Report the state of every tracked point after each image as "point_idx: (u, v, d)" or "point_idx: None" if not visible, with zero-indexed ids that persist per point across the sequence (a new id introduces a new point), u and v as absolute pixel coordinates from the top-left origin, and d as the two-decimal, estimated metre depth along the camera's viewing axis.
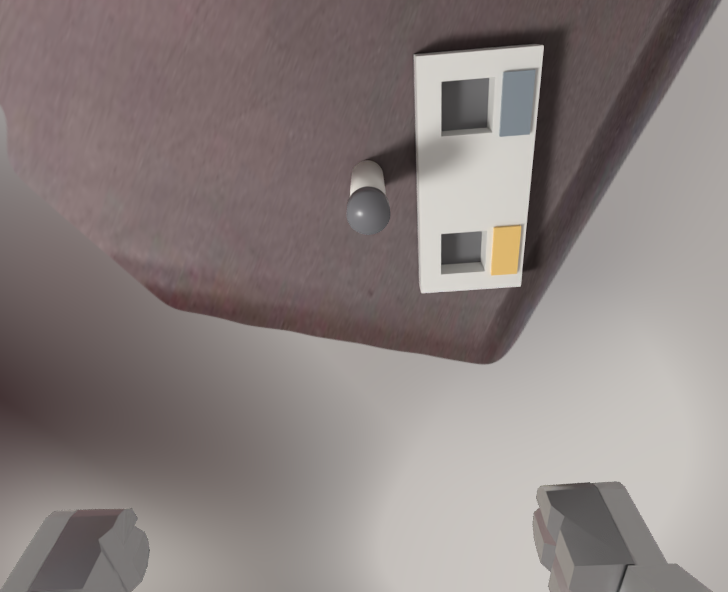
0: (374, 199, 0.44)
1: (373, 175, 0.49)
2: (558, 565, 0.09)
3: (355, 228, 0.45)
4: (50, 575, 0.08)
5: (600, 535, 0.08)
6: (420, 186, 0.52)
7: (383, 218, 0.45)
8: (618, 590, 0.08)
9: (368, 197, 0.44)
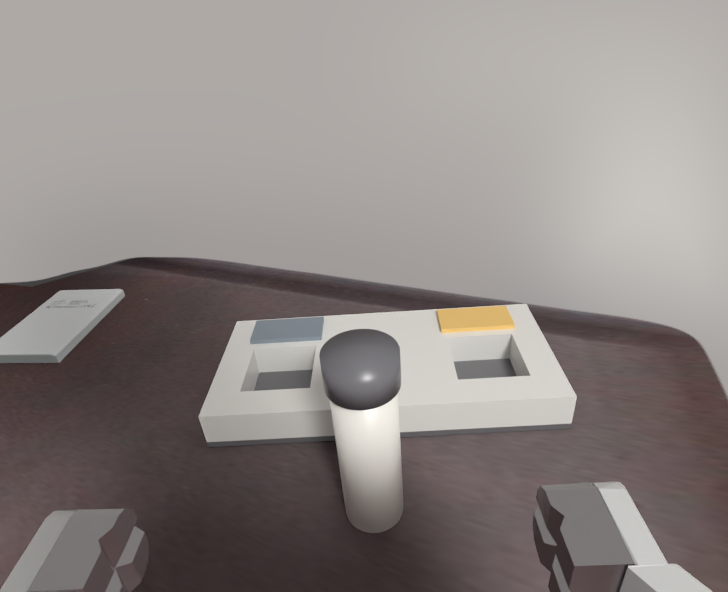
0: (332, 345, 0.25)
1: None
2: (558, 565, 0.09)
3: (386, 367, 0.23)
4: (51, 576, 0.08)
5: (600, 535, 0.08)
6: None
7: (368, 335, 0.25)
8: (618, 590, 0.08)
9: (327, 352, 0.24)
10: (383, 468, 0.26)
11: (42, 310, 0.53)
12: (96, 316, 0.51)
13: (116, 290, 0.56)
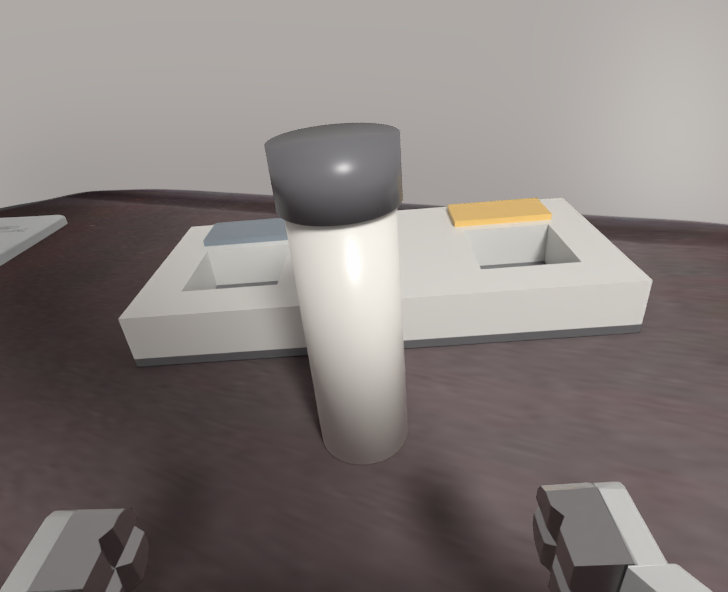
0: (289, 136, 0.15)
1: None
2: (558, 565, 0.09)
3: (376, 143, 0.13)
4: (51, 576, 0.08)
5: (600, 535, 0.08)
6: None
7: (348, 126, 0.16)
8: (618, 590, 0.08)
9: (279, 141, 0.15)
10: (375, 348, 0.16)
11: None
12: (24, 240, 0.42)
13: (56, 216, 0.46)
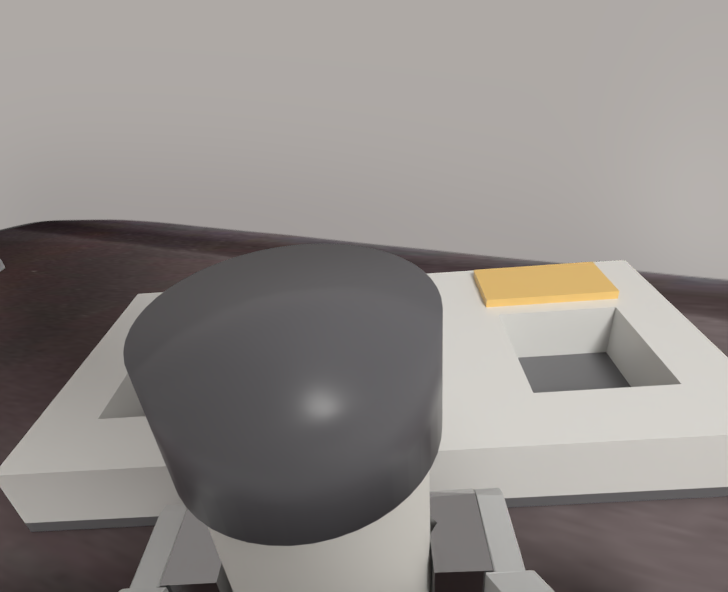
0: (198, 290, 0.07)
1: None
2: None
3: (390, 364, 0.05)
4: (180, 570, 0.08)
5: (467, 541, 0.08)
6: None
7: (328, 260, 0.07)
8: None
9: (170, 312, 0.07)
10: None
11: None
12: None
13: None
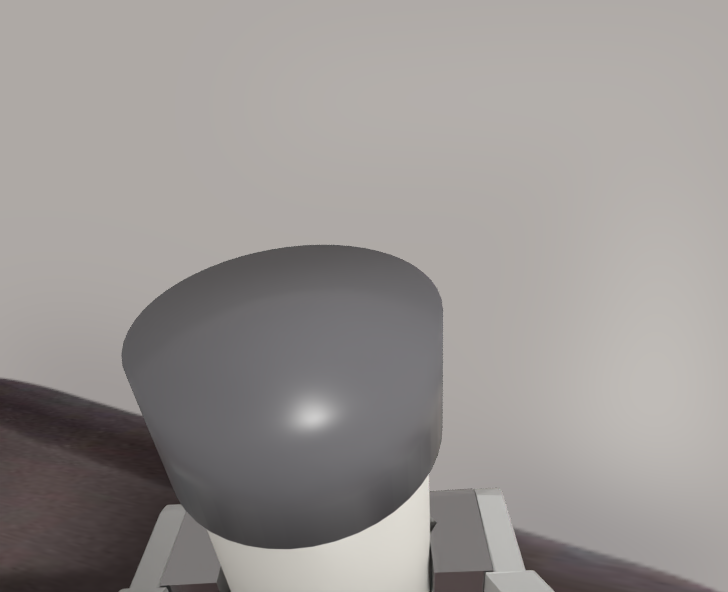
0: (197, 292, 0.07)
1: None
2: None
3: (390, 366, 0.05)
4: (180, 570, 0.08)
5: (467, 542, 0.08)
6: None
7: (328, 261, 0.07)
8: None
9: (169, 314, 0.06)
10: None
11: None
12: None
13: None
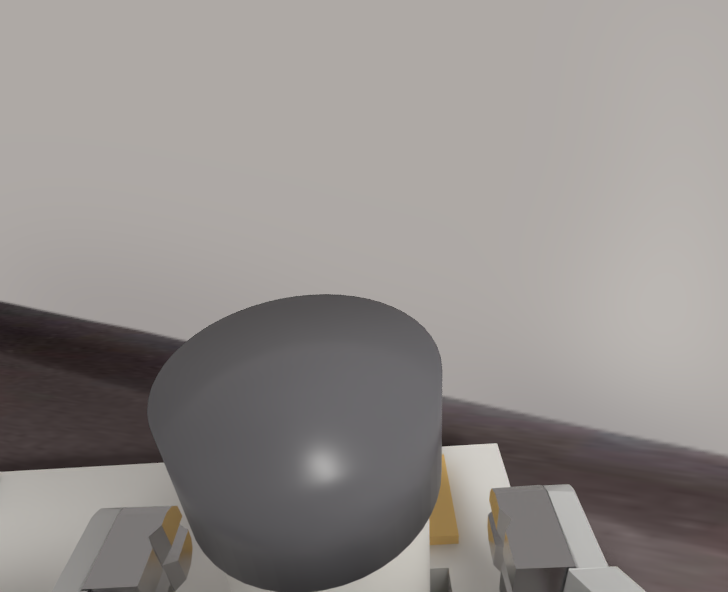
0: (213, 345, 0.07)
1: None
2: (506, 568, 0.09)
3: (394, 430, 0.06)
4: (104, 573, 0.08)
5: (544, 538, 0.08)
6: None
7: (335, 313, 0.08)
8: None
9: (188, 369, 0.07)
10: None
11: None
12: None
13: None
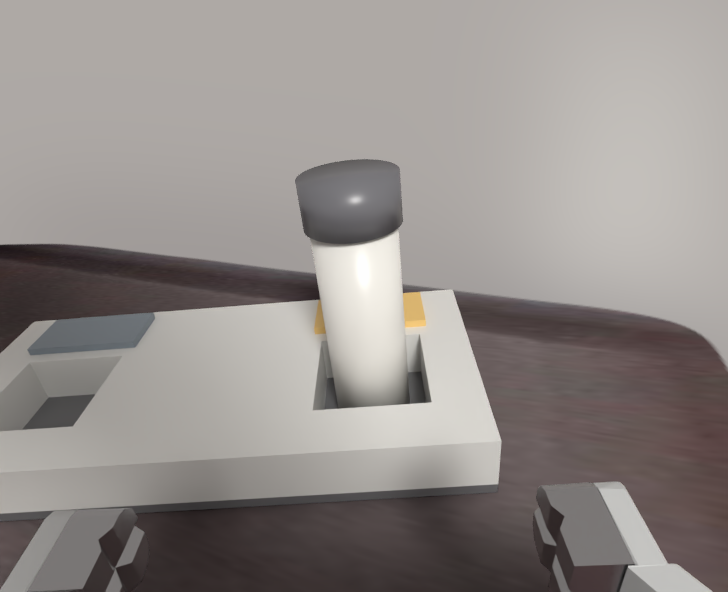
0: (313, 172, 0.19)
1: None
2: (558, 565, 0.09)
3: (382, 181, 0.17)
4: (51, 575, 0.08)
5: (600, 535, 0.08)
6: (166, 459, 0.20)
7: (359, 163, 0.20)
8: (618, 590, 0.08)
9: (306, 177, 0.19)
10: (382, 338, 0.20)
11: None
12: None
13: None
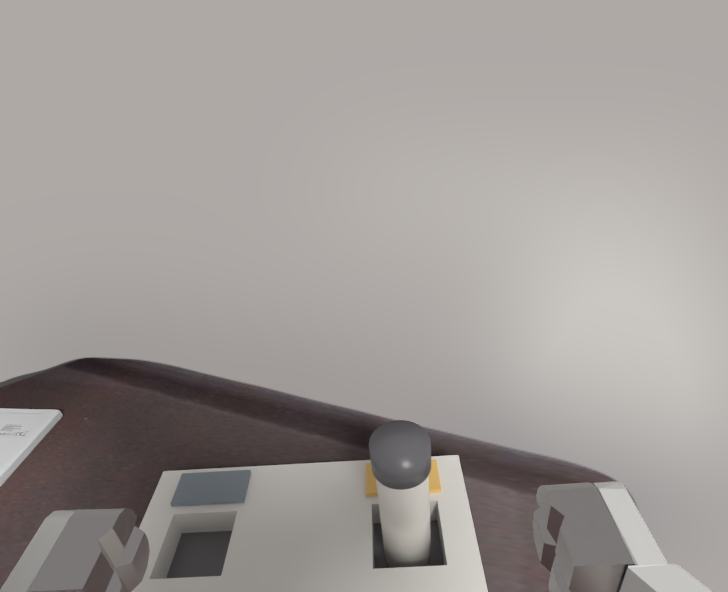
0: (378, 437, 0.32)
1: None
2: (558, 565, 0.09)
3: (421, 457, 0.30)
4: (50, 575, 0.08)
5: (600, 535, 0.08)
6: None
7: (404, 427, 0.33)
8: (618, 590, 0.08)
9: (374, 443, 0.32)
10: (417, 528, 0.33)
11: None
12: (25, 449, 0.50)
13: (52, 411, 0.54)
